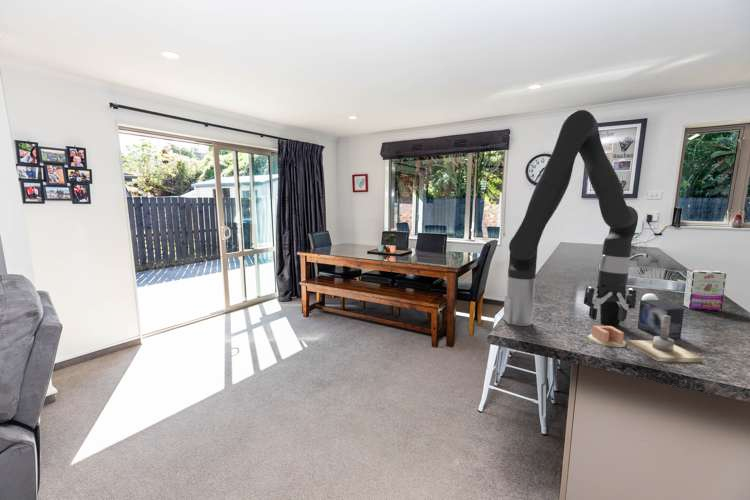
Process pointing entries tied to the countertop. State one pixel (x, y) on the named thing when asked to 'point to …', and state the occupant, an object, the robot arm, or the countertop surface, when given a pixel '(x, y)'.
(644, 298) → the capsule
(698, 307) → the candy bar box
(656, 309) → the small box
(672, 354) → the peg stand
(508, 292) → the robot arm
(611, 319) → the cup
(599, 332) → the c link
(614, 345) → the coaster
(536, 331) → the countertop surface
